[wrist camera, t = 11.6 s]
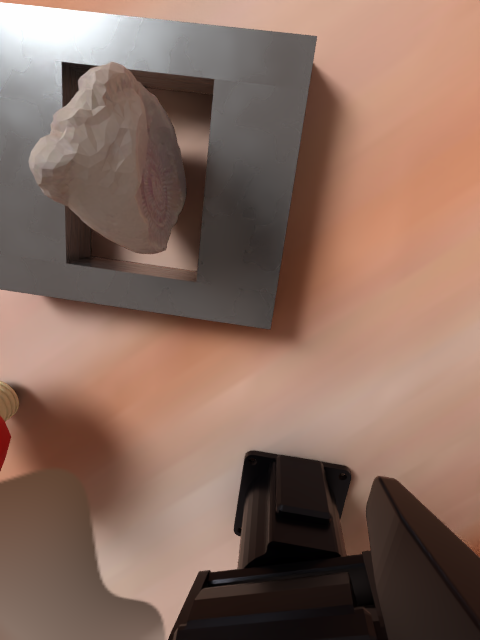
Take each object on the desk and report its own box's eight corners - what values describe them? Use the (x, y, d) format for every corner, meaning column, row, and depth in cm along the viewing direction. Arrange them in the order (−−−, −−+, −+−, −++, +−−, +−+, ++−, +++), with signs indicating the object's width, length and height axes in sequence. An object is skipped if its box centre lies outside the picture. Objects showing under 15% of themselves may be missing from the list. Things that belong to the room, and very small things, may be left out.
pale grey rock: (196, 244, 19) (119, 283, 10) (131, 237, 20) (-4, 270, 10) (202, 121, 18) (116, 27, 8) (131, 115, 18) (-34, 17, 8)
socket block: (271, 314, 20) (270, 329, 18) (26, 278, 21) (-6, 288, 19) (311, 60, 16) (317, 36, 14) (11, 27, 17) (-31, -1, 15)
